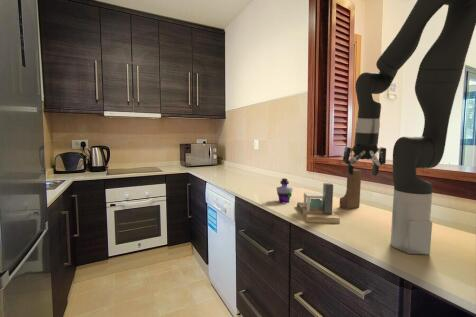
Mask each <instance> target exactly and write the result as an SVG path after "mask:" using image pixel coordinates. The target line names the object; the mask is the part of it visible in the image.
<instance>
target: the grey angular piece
mask: <svg viewBox="0 0 476 317" xmlns="http://www.w3.org/2000/svg"><path fill="white" fill-rule="evenodd" d="M322 189H323V190H322V193H323V205H322V207H311V206H310V211H322V212H323V213H324V214H332V212H333V203H334V202H333V198H334V184H332V183H323V186H322Z"/></svg>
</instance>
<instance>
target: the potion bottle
mask: <svg viewBox="0 0 476 317" xmlns="http://www.w3.org/2000/svg"><path fill="white" fill-rule="evenodd" d="M280 184H281V186H277V187H276V193H277V196H278V202H279V201H280V202H279V203H281V202H286V203H285V204H288V203H290V200H291V198H292V194H293V193H292V192H293V187H289V186H288V185H289V180H288V178H281V180H280Z"/></svg>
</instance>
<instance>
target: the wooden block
mask: <svg viewBox="0 0 476 317" xmlns="http://www.w3.org/2000/svg"><path fill="white" fill-rule="evenodd" d="M346 174H347V175H346V191H345V194H344V196H342V197H340V198H339V208H341V209H345V210H351V209H356V208H360V205H361V202H360V201H361V184H362V170H361V169H356V168H353V175H349V173H348V172H347V171H346Z"/></svg>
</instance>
